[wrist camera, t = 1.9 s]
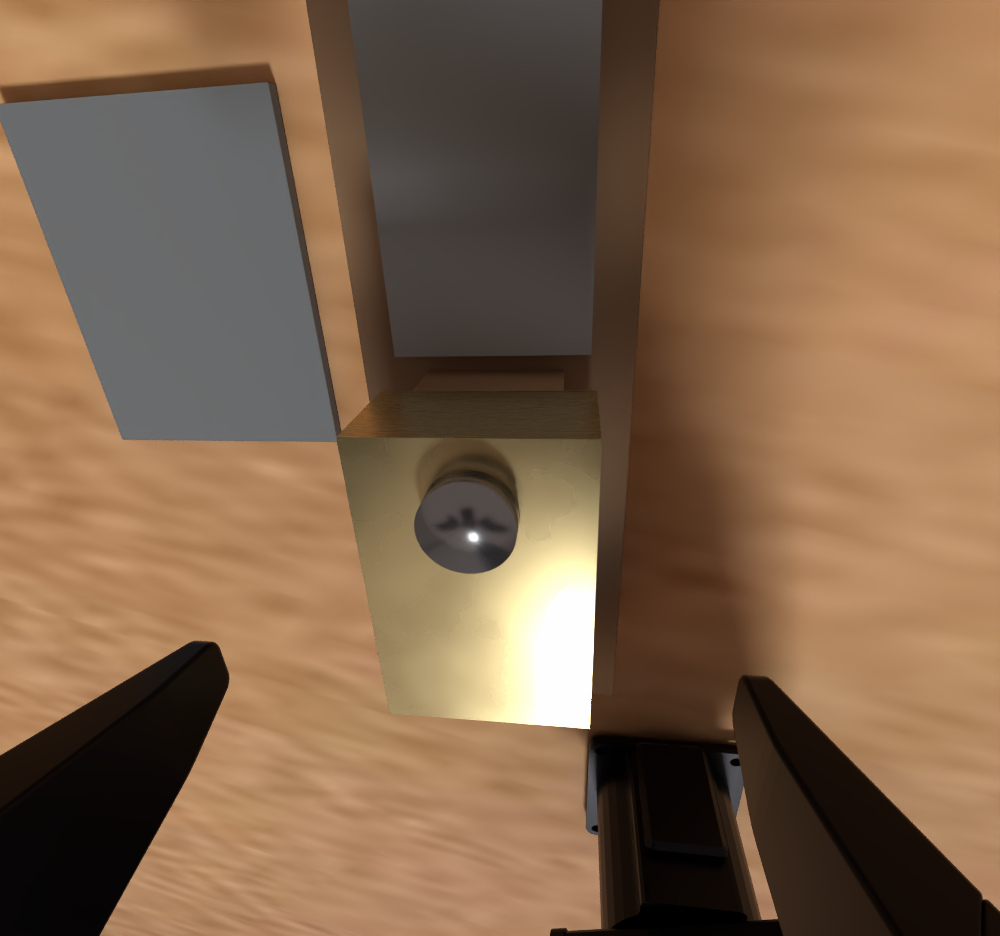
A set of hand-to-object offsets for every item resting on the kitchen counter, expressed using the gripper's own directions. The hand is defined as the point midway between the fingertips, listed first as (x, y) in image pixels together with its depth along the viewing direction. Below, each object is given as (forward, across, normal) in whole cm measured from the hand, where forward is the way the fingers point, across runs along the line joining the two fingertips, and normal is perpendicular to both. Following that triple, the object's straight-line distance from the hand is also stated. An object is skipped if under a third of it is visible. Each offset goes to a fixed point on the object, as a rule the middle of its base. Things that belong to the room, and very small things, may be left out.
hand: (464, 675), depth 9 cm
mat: (+10, +10, -5) cm, 15 cm away
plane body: (+10, 0, -4) cm, 11 cm away
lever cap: (+4, 0, 0) cm, 4 cm away
